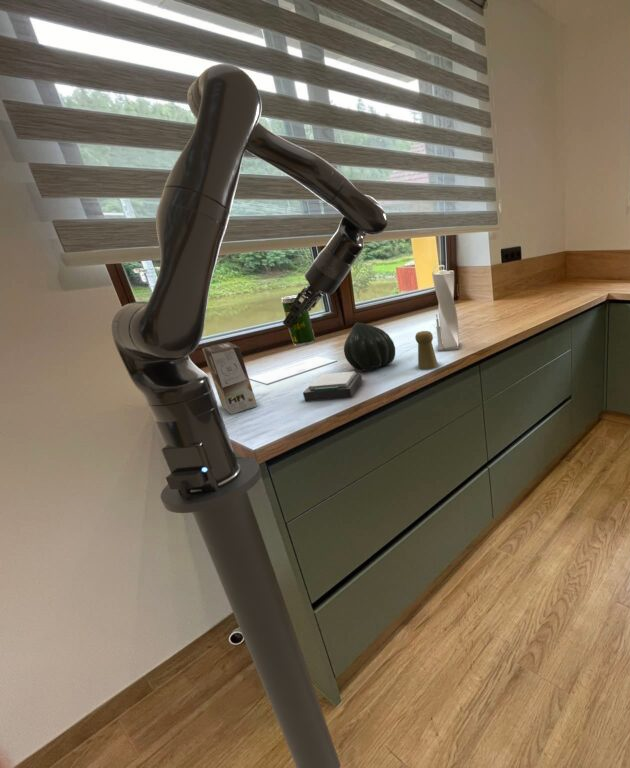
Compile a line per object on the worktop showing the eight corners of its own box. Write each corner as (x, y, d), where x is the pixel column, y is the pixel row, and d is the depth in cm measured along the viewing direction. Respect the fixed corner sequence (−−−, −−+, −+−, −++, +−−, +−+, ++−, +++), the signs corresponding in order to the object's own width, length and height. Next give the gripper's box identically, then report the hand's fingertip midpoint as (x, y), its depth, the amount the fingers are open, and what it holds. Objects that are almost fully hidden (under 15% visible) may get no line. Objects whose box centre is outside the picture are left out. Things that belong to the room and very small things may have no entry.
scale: (351, 397, 112) (349, 385, 111) (305, 401, 111) (301, 389, 110) (362, 381, 123) (360, 369, 122) (320, 385, 122) (317, 373, 121)
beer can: (311, 339, 113) (300, 294, 108) (319, 342, 109) (307, 295, 104) (290, 344, 109) (277, 297, 105) (297, 348, 106) (284, 299, 101)
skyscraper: (439, 344, 155) (429, 265, 145) (461, 342, 156) (453, 263, 145) (438, 351, 147) (427, 267, 137) (461, 349, 148) (453, 266, 138)
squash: (403, 351, 129) (384, 311, 133) (354, 365, 122) (335, 321, 125) (397, 372, 141) (380, 334, 145) (352, 385, 134) (335, 345, 137)
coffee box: (258, 406, 110) (240, 346, 104) (231, 415, 106) (210, 353, 100) (247, 398, 116) (229, 341, 110) (220, 406, 112) (200, 347, 106)
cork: (415, 369, 130) (410, 334, 126) (422, 363, 136) (417, 329, 132) (434, 369, 129) (429, 334, 125) (440, 362, 135) (436, 329, 131)
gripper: (324, 257, 109) (289, 307, 112) (304, 262, 95) (264, 319, 99) (350, 276, 111) (314, 325, 115) (333, 284, 98) (294, 339, 101)
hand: (291, 322), depth 107 cm, fingers closed on beer can, 5 cm apart
